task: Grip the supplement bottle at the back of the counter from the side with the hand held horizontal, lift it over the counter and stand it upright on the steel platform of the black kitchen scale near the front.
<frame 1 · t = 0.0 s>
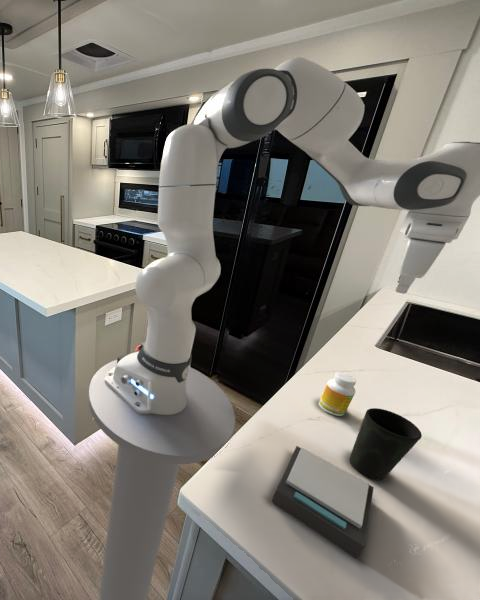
hand: (401, 287, 72), 31 cm above the countertop, tool pointing down, fingers open, 8 cm apart
supplement bottle: (330, 409, 78), on the countertop
cup: (366, 468, 62), on the countertop
kitchen scale: (319, 499, 56), on the countertop
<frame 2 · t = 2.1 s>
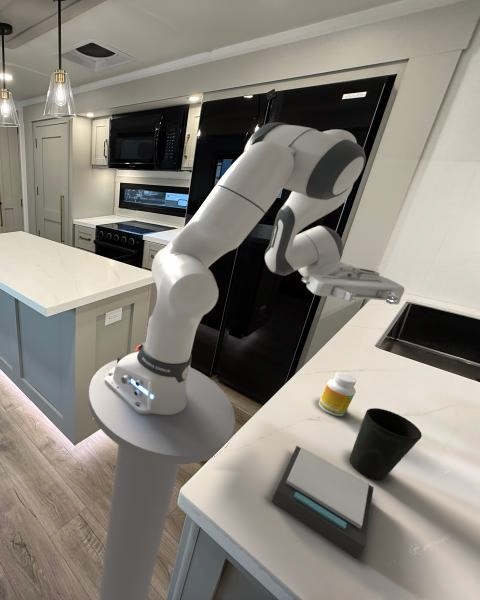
hand: (374, 300, 73), 27 cm above the countertop, tool horizontal, fingers open, 8 cm apart
nothing on the countertop moved.
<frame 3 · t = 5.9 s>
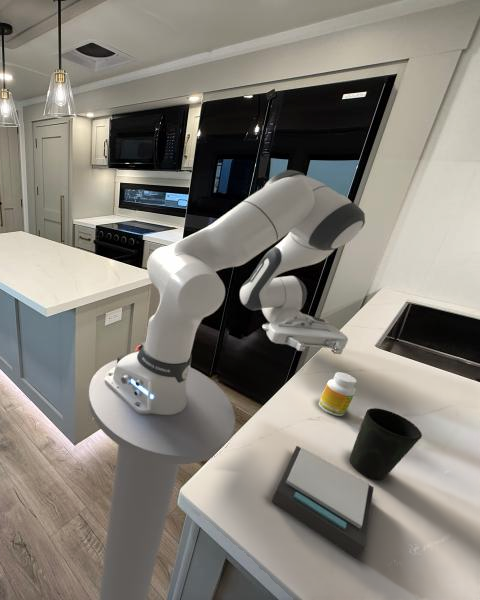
hand: (320, 350, 84), 10 cm above the countertop, tool horizontal, fingers open, 8 cm apart
nothing on the countertop moved.
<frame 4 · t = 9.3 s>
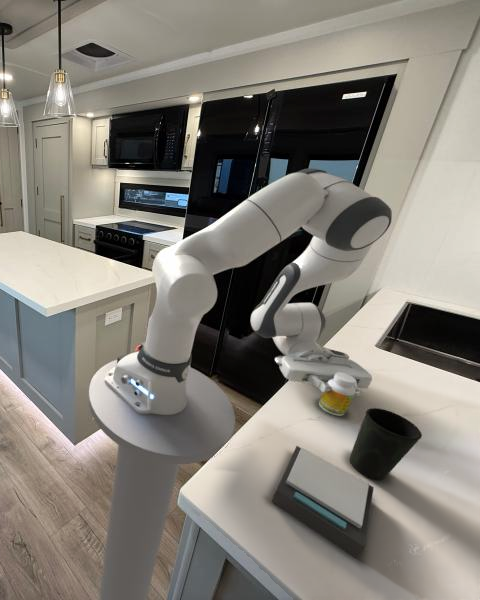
hand: (342, 392, 75), 6 cm above the countertop, tool horizontal, fingers closed on supplement bottle, 5 cm apart
supplement bottle: (330, 409, 78), on the countertop, touching gripper
everything else where it was.
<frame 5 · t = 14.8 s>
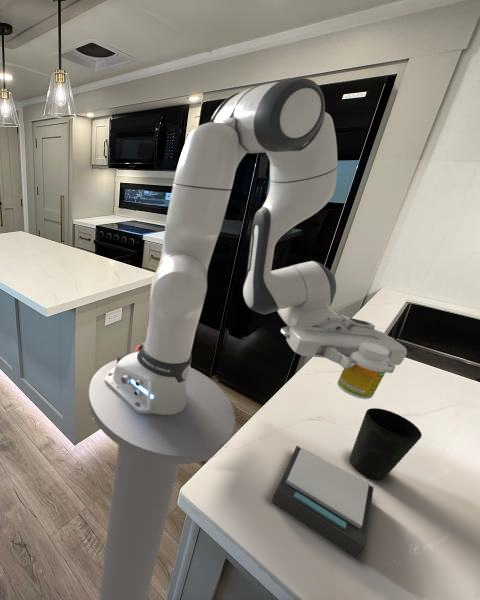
hand: (370, 367, 57), 22 cm above the countertop, tool horizontal, fingers closed on supplement bottle, 5 cm apart
supplement bottle: (353, 391, 60), point 15 cm above the countertop, touching gripper
everything else where it was.
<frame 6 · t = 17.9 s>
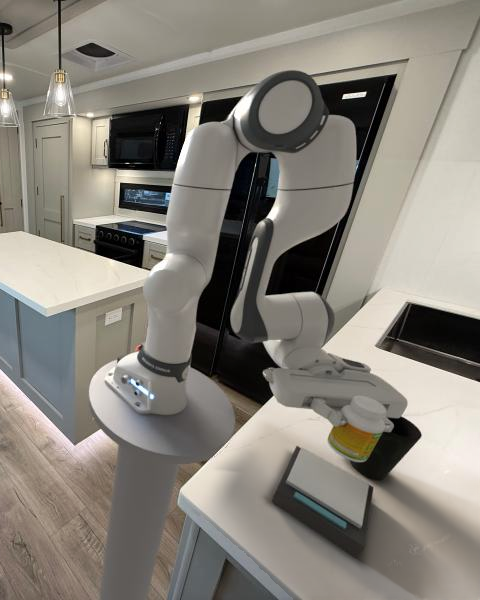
hand: (364, 426, 48), 18 cm above the countertop, tool horizontal, fingers closed on supplement bottle, 5 cm apart
supplement bottle: (345, 450, 52), point 12 cm above the countertop, touching gripper
everything else where it was.
when the fingers open (10 cm above the countertop, at t = 20.5 s): supplement bottle stays where it is, resting on kitchen scale.
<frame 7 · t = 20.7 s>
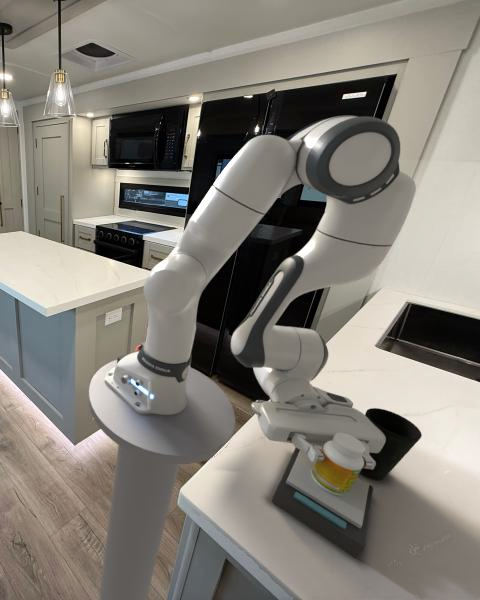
hand: (344, 463, 52), 10 cm above the countertop, tool horizontal, fingers open, 7 cm apart
supplement bottle: (328, 482, 55), point 4 cm above the countertop, touching kitchen scale
everything else where it was.
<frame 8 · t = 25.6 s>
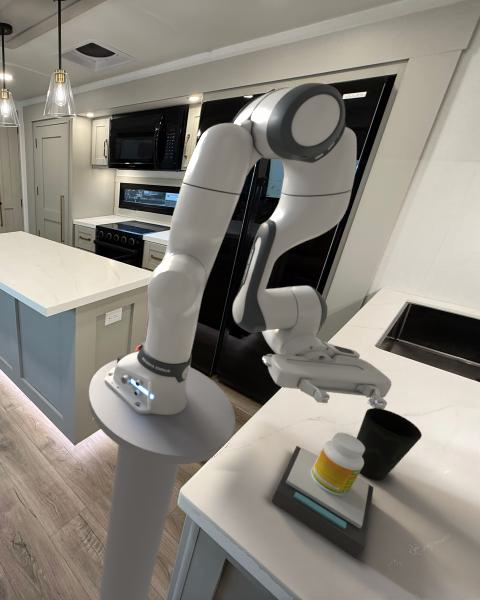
hand: (352, 403, 55), 17 cm above the countertop, tool horizontal, fingers open, 8 cm apart
nothing on the countertop moved.
at the end: supplement bottle inside the target area on the kitchen scale (0.1 cm from its centre), point 3.6 cm above the kitchen scale's base; supplement bottle tilted 0°; the gripper is holding nothing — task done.
